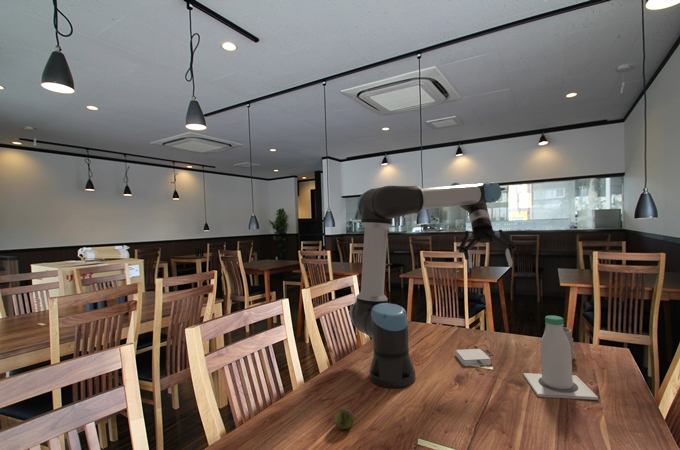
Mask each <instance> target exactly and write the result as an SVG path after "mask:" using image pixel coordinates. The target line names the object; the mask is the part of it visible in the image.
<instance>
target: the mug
mask: <svg viewBox="0 0 680 450" xmlns="http://www.w3.org/2000/svg"><path fill="white" fill-rule="evenodd" d="M545 330H546V325H545V327H544V332H543V334H544V333H545ZM563 330H564V333H565V335H566V337H567V339H568V340H569V343H570V347H571V358H572V361H573V360H574V357H575V354H576V353H575V352H576V351H574V347H573V346H574V345H573V342H574V338H573V337H572V335H573V334H572V330H571V328H568V327H564V326H563Z"/></svg>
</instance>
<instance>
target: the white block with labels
mask: <svg viewBox="0 0 680 450" xmlns="http://www.w3.org/2000/svg"><path fill="white" fill-rule="evenodd" d="M454 352H455V353H454V354H455V356H456V358H457V359H458V360H459V362H460V363H461V364H462V365H463V366H464V367H470V366H471V367H472V366H479V367H480V368H482V367H483V368H484V367H486V366H490V365H491V366H492V358H491V357H494V354H492V352H491V351H490V350H489V349H485V351H483V349H482V348H479V347H478V346H476V345H475V346H473V348H465V349H463V348H462V349H455V350H454ZM486 353H487V354H486Z"/></svg>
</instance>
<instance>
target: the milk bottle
mask: <svg viewBox="0 0 680 450" xmlns="http://www.w3.org/2000/svg"><path fill="white" fill-rule="evenodd" d="M544 320H545V326H546V330H545V329H544V331H545V333H544V332H543V335H542V338H541V340H540V361H541V362H540V364H541V374H542V380H543V382H544V383H545V384H546V385H547V386H550V387H552V388H556V389H570V388H571V387H572V386H573V377H572V375H573V362H572V361H573V360H572V358H571V347H570V343H569V340H568V339H567V337H566V335H565V333H564V330H563V327H564V318H563V317H561V316H557V315H545V317H544Z"/></svg>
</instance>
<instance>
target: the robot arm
mask: <svg viewBox="0 0 680 450" xmlns="http://www.w3.org/2000/svg"><path fill="white" fill-rule="evenodd" d="M501 196H502V188H501V186H500V184H499V183H497V182H495V181H491V182H485V183H484V182H483V183H475V184H474V183H470V184H461V183H459V182H454V183H451V184H450V185H444V186H432V187H420V186H418V185H384V186H381V187H375V188H371V189H368V190H367V191H364V192H363V193H362V194H361V195H360V196H359V198H358V201H357V204H356V207H357V208H356V209H357V212H358V214H359V215H360V216H361V217H360V218H361V220H360V224H361V225H362V227H364V234H363V236H364V237H363V250H362V251H363V252H362V265H361V266H362V269H361V283H360V284H361V286H360V292H359V293H358V294H357V295H356V297H355V302H354V304H352V306H351V309H350V320H351V323H352V324H353V326H354V327H355V328H356V329H357V330H358V331H359V332H361V333H363V334H365V335H366V336H368V337H369V338H371V339H372V345H373V346H372V347H373V356H372V360H371V364H370V366H369V367H370V368H369V380H370V379H371V380H370V381H371V382H372V383H373V384H375V385H377V386H379V387H382V388H388V389H399V388H404V387H408V386H410V385H412V384H413V383H414V382H415V381H416V378H417V377H416V370H415V366H414V364H413V361H412V358H411V356H410V350H409V345H410V344H409V329H408V324H409V321H408V315H407V311H406V309H405V308H404V307H403V306H401V305H398V304H396V303H391V302H388V297H387V296H386V295H385V276H386V265H387V263H386V262H387V261H386V260H387V249H388V247H387V246H388V245H387V244H388V232H389V231H388V230H389V229H390V228H391V227H392V226H393V219H396V218H400V217H404V216H408V215H412V214H414V215H415V214H419V213H421V212H422V211H423V210H430V209H431V210H432V209H440V208H441V209H442V208H448V207H449V208H450V207H460V208H462V209H463V210H464V211H466V212H467V213H468V214H469V220H470V221H469V222H470V224H471V225H470V226H471V230H472V232H470V231H468V230H465V233H464V237H463V238H462V240H461V243H460V245H459V247H458V253H460V254H461V253H462V254H463V256H464V259H465V260H466V261H468V266H469V267H468V268H469V269H472V267H473V260H472V255H471V250H472V248H473V247H475V245H477V244H479V242H480V243H481V244H482V243H491V244H494V245H496V246H497V247H499V248H500V249H501V250H504V251H505V257H506V261H507V264H508V267H509V268H512V267H513V263H514V262H513V260H512V259H513V258H514V253H513V252H515V251H516V249H517V244H515V243H514V242H513V241H512V240H511V239H510V238H509V237H508V236H507V235H506V234H505V233H504V231H503V230H502V229H498V230H497V231H494V228H493V225H492V222H491V218H490V214H489V213H490V212H489V211H488V210H489V209H488V206H487V203H488V204H489V203H490V204H492V203H497V202H498V201H499V200H500V198H501ZM471 237H472V239H471V240H470V242H469V243H468V241H469V239H470V238H471ZM467 243H468V244H467Z"/></svg>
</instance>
